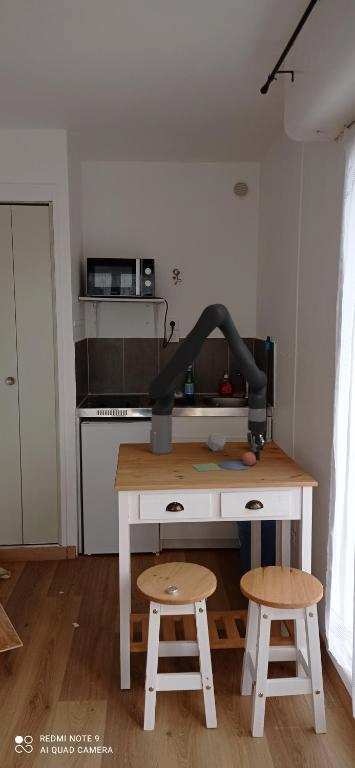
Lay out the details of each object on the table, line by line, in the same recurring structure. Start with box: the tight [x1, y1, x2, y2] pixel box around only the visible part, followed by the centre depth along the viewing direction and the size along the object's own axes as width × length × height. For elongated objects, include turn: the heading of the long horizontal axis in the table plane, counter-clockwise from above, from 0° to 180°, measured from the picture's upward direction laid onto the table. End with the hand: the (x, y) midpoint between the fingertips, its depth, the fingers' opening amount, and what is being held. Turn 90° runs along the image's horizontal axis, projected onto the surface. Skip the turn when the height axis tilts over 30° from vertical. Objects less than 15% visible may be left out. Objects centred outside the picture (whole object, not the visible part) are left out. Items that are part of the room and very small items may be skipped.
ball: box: [242, 451, 257, 467], centre depth 239 cm, size 6×6×6 cm
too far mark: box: [191, 462, 224, 473], centre depth 236 cm, size 10×10×1 cm
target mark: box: [217, 460, 251, 471], centre depth 239 cm, size 13×13×1 cm
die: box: [205, 432, 227, 452], centre depth 265 cm, size 8×9×10 cm
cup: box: [246, 431, 254, 452], centre depth 265 cm, size 8×7×8 cm
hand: (256, 459), depth 242 cm, fingers closed
